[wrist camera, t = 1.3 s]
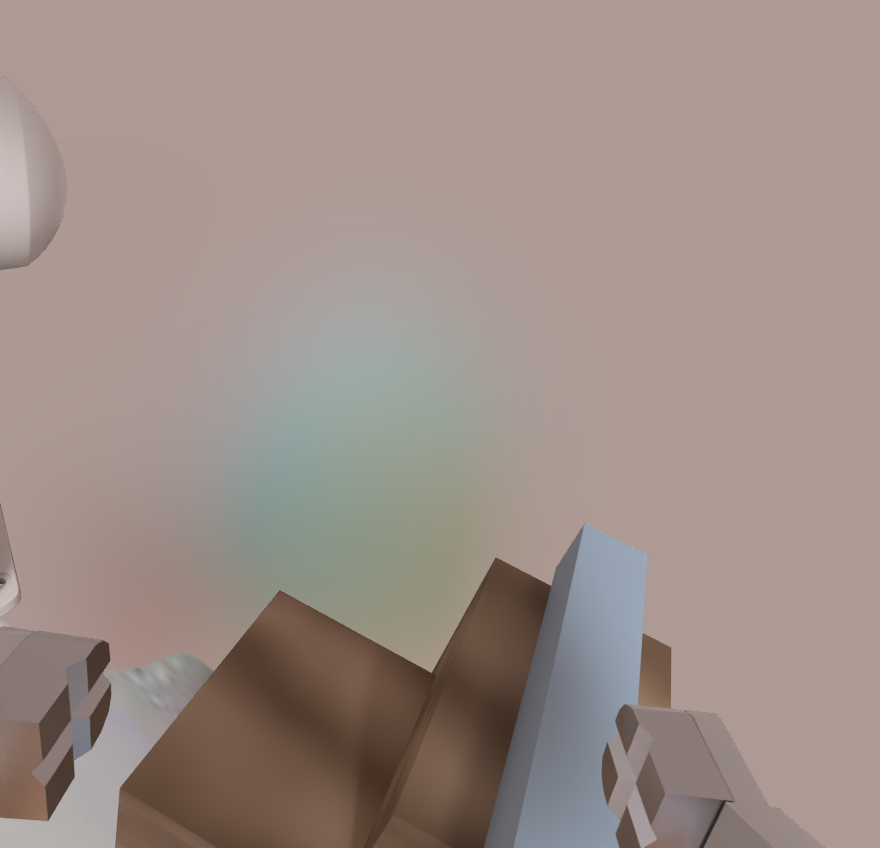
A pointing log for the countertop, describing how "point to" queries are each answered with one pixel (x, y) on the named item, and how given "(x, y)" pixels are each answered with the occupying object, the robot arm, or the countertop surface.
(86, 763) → the countertop surface
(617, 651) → the rail
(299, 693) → the stand
